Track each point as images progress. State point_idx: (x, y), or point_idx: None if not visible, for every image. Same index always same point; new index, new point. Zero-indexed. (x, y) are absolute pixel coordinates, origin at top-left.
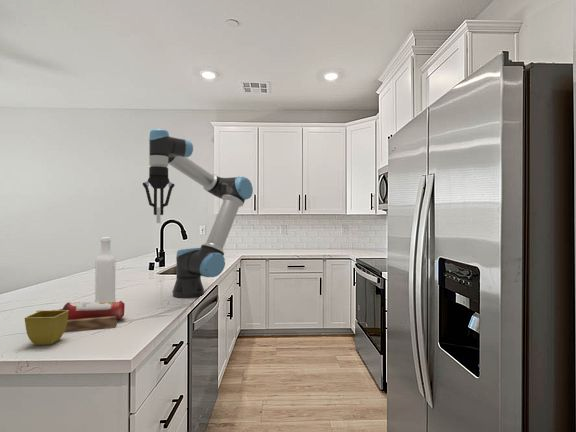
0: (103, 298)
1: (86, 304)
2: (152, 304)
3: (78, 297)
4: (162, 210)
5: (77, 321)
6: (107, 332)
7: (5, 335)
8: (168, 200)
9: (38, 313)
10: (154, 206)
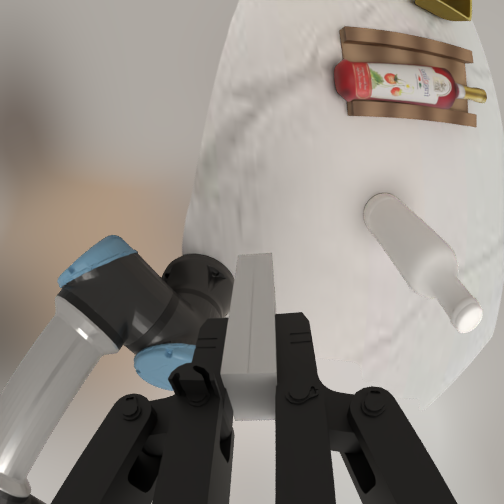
0: (394, 201)
1: (420, 74)
2: (279, 209)
3: (422, 306)
4: (203, 356)
5: (412, 35)
6: (347, 5)
7: (489, 72)
8: (89, 455)
9: (468, 11)
10: (311, 384)
